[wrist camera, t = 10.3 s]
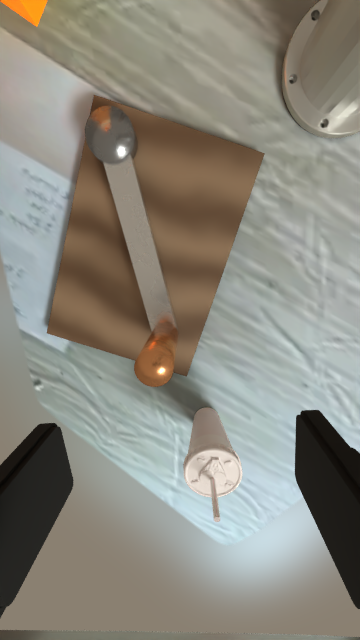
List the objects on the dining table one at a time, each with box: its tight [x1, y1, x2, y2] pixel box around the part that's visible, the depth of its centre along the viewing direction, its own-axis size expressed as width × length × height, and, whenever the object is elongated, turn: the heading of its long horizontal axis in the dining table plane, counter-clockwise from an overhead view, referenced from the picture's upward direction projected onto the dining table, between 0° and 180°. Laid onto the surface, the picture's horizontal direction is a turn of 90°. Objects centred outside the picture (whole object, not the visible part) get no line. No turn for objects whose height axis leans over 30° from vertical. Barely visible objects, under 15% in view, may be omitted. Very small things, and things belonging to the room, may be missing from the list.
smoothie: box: [183, 407, 242, 522], centre depth 29 cm, size 6×6×14 cm
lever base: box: [47, 95, 265, 376], centre depth 30 cm, size 28×20×1 cm
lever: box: [85, 106, 178, 387], centre depth 23 cm, size 26×5×12 cm, turn 14°
